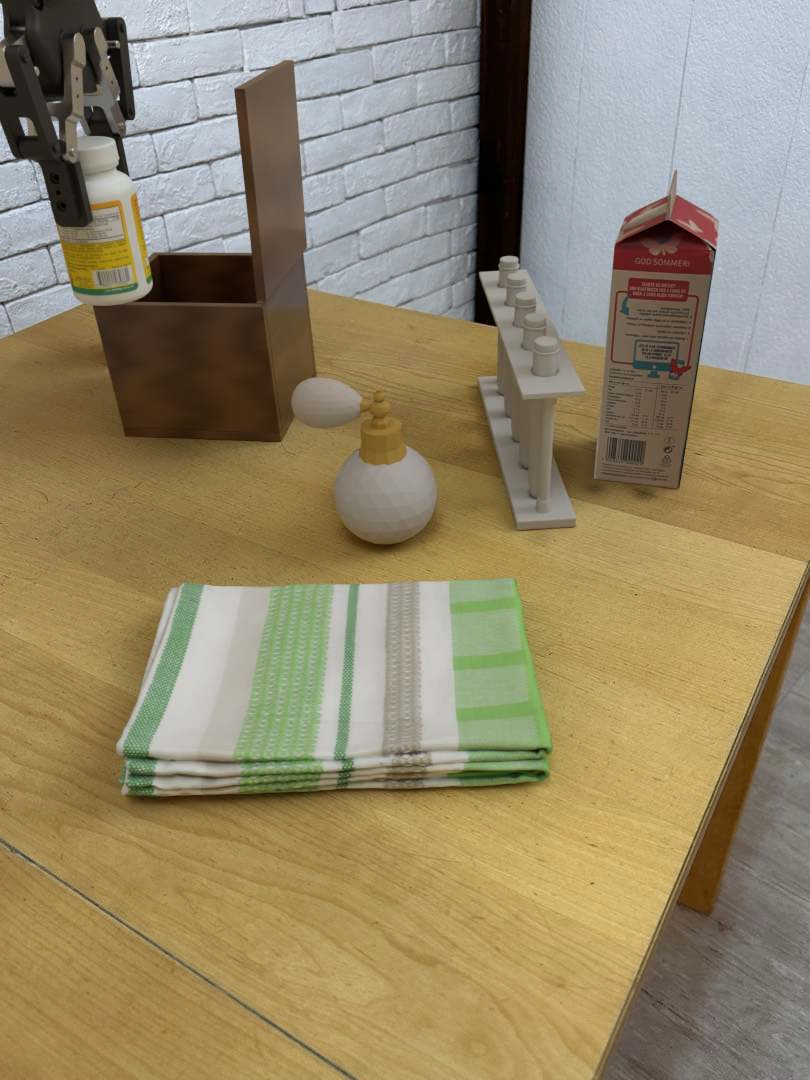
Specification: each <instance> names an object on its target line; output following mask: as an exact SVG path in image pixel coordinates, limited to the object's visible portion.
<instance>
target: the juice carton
mask: <svg viewBox="0 0 810 1080" xmlns="http://www.w3.org/2000/svg"><path fill="white" fill-rule="evenodd" d="M677 182H678V169H675V170H674V172H673V175H672V179H671V183H670V187H669V190H668V195H666V196H663V197H662V198H659V199H657V200H655V201H653V202H651V203H649V204H647V205H644V206H643V207H640V208H638V209H636V210H634V211H633V212H630V213H629V214H628V215H626V216H625V217H624V219H623V222H622V224H621V227H620V229H619V232H618V234H617V237H616V240H615V243H614V247H613V257H612V258H613V259H612V269H611V270H612V271H611V280H610V292H609V302H608V313H607V323H606V324H607V325H606V335H605V336H606V338H605V348H604V358H603V370H602V381H601V382H602V383H601V390H600V391H601V392H600V404H599V412H598V413H599V416H598V423H597V425H598V426H597V435H596V448H595V460H594V471H593V480H599V481H600V480H602V481H610V482H617V483H618V482H619V483H625V484H634V485H643V486H651V487H660V488H669V489H675V490H677V489H679V490H680V487H681V481H682V475H683V467H684V461H685V454H686V448H687V443H688V435H689V428H690V423H691V416H692V410H693V403H694V397H695V390H696V384H697V379H698V372H699V365H700V358H701V352H702V345H703V339H704V333H705V325H706V320H707V319H706V318H707V314H708V308H709V307H708V306H709V301H710V300H709V299H710V294H711V287H712V282H713V281H712V280H713V274H714V269H715V261H716V255H717V248H718V237H719V227H720V220H718V219H717V218H716V217H715V216H713V214H711V213H710V212H708V211H707V210H705V209H703V208H701V207H699V206H698V205H696V204H694V203H692V202H690V201H688V199H685V198H683V197H682V196H681V195H678V194H677V184H678V183H677Z"/></svg>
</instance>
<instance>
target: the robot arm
mask: <svg viewBox="0 0 810 1080" xmlns="http://www.w3.org/2000/svg"><path fill="white" fill-rule="evenodd" d="M0 4H1V11H2V18H3V38H2V40H1V41H0V125H1V128H2V131H3V133H4V136H5V138H6V141H7V144H8V147H9V150H10V152H11V154H12V156H13V157H14V158H15V159H17V160H29V161H32V162H33V163H36V164H37V163H38V165H39V167H40V170H41V172H42V176H43V180H44V184H45V188H46V192H47V195H48V200H49V202H50V203H49V204H50V208H51V212H52V215H53V219H54V223H55V224H56V223H57V224H58V225H59V226H61V227H85V226H87V225H88V224H90V223H91V222H92V220H93V216H92V212H91V207H90V203H89V198H88V194H87V189H86V185H85V181H84V176H83V172H82V167H81V163H80V161H77V157H78V151H77V137H78V132H77V128H78V127H77V126H78V123H80V125H81V128H82V130H83V133H84V134H85V136H104V137H110V138H112V139H114V140H115V142H116V147H117V151H118V155H119V160H118V162H119V164H118V165H117V166H116V170H117V171H120V172H122V173H124V174H126V175H127V176H129V177H130V171H129V166H128V161H127V157H126V151H125V146H124V141H123V138H124V137H126V135H127V121H134V120H135V118H136V104H135V96H134V86H133V77H132V67H131V57H130V50H129V49H130V47H129V40H128V39H129V38H128V31H127V30H128V29H127V25H126V21H125V19H124V17H121V16H101V13H100V11H99V9H98V7H97V3H96V0H0ZM118 98H119V99H118ZM47 101H51V102H47ZM52 101H57V102H52ZM58 101H59V102H58ZM20 118H25V120H26V123H27V135H26V133H25V131H24V127H23V125H22V122H21V119H20ZM54 122H58V134H57V132H56V128H55V125H54ZM130 178H131V177H130Z"/></svg>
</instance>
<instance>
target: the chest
mask: <svg viewBox="0 0 810 1080" xmlns="http://www.w3.org/2000/svg"><path fill="white" fill-rule="evenodd" d="M148 259H149V265H150V270H151V275H152V281H153V286H152V289H151V291H150V292H149V293H148V294H147V295H145V296H144V297H142V298H140V299H138V300H135V301H132V302H128V303H124V304H118V305H110V306H96V305H92V309H93V313H94V317H95V320H96V325H97V330H98V333H99V336H100V340H101V345H102V349H103V352H104V353H103V354H104V357H105V360H106V365H107V368H108V373H109V376H110V380H111V384H112V388H113V393H114V397H115V401H116V405H117V408H118V409H117V410H118V413H119V417H120V420H121V425H122V429H123V433H124V436H125V437H146V438H169V439H170V438H175V439H196V440H198V439H200V440H201V439H202V440H223V441H224V440H227V441H252V442H277V443H278V442H280V443H281V442H282V440H283V439H284V437H285V436H286V433H287V431H288V429H289V428H290V425H291V424H292V422H293V420H294V418H295V417H296V416H295V415H294V413H293V410H292V405H291V399H292V395H293V392H294V390H295V388H296V387H297V385H299V384H300V383H301V382H302V381H305V380H307V379H309V378H316V377H317V366H316V358H315V350H314V349H315V348H314V340H313V330H312V329H313V328H312V321H311V311H310V301H309V293H308V283H307V273H306V265H305V255H304V253H303V254H302V255H301V257H300V258H299V259H298V261H297V262H296V263H295V264H294V266H293V267H292V268H291V270H290V271H289V272H288V274H287V275H286V276H285V278H284V279H283V280H282V282H281V283H280V284H279V285H278V287H277V288H276V289H275V291H274V292H273V293H272V295H271V296H270V297H269V299H268V300H267V301H266V302H265V301H257V298H256V288H255V279H254V270H253V260H252V252H190V251H189V252H187V251H186V252H184V251H183V252H181V251H179V252H174V251H173V252H171V251H170V252H168V251H164V252H163V251H157V252H156V251H153V252H152V253H151V254H150V255H148Z"/></svg>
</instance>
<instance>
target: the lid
mask: <svg viewBox="0 0 810 1080" xmlns="http://www.w3.org/2000/svg"><path fill="white" fill-rule="evenodd" d="M233 91H234V92H233V93H234V100H235V101H234V102H235V109H236V120H237V129H238V138H239V145H240V146H239V147H240V156H241V165H242V166H241V167H242V175H243V185H244V194H245V203H246V205H245V206H246V211H247V224H248V232H249V242H250V249H251V250H250V251H251V253H252V260H253V270H254V279H255V288H256V298H257V301H265V302H266V301H267V300H268V299H269V297H270V296H271V295H272V293H273V292H274V291H275V289H276V288H277V287H278V285H279V284H280V283H281V282H282V280H283V279H284V278H285V276H286V275H287V274H288V272H289V271H290V270H291V268H292V267H293V266H294V264H295V263H296V262H297V261H298V259H299V258H300V257H301V255H302V254H303V255H304V253H305V252H306V250H307V249H308V241H307V228H306V215H305V214H306V213H305V199H304V186H303V185H304V184H303V174H302V173H303V171H302V170H303V169H302V158H301V143H300V131H299V130H300V128H299V117H298V116H299V115H298V102H297V101H298V100H297V87H296V73H295V61H294V59H284V60H282V61H281V62H279V63H277V64H275V65H273V66H271V67H270V68H268V69H266V70H264V71H263V72H261V73H259V74H258V75H256V76H254V77H252V78H251V79H248V80H247V81H245V82H244V83H242V84H240V85H238V86H236V87H235V88H234V89H233Z"/></svg>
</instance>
